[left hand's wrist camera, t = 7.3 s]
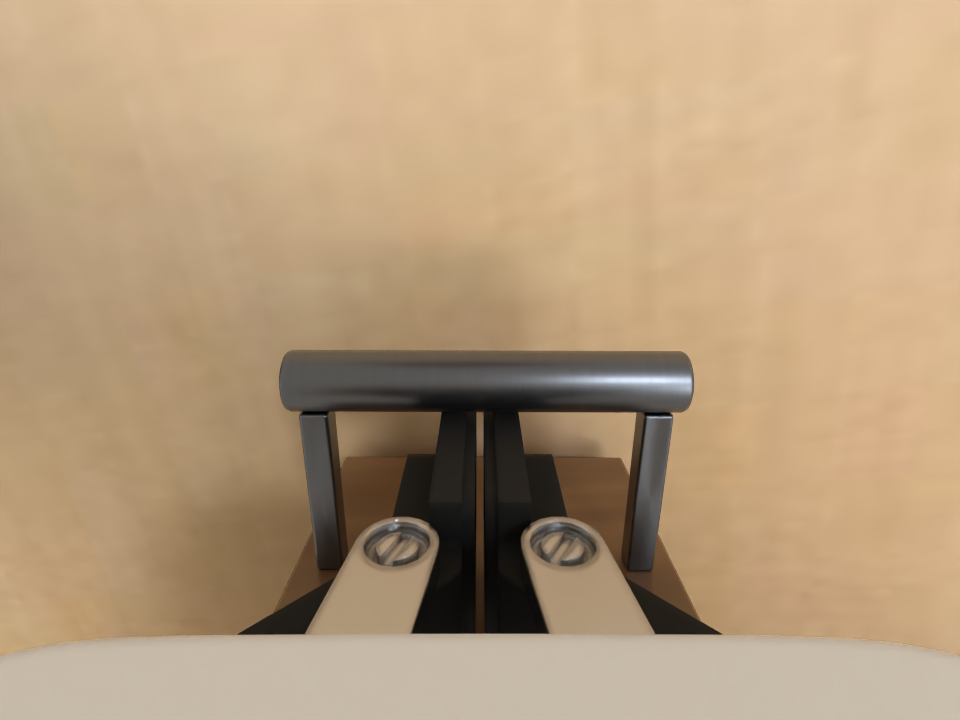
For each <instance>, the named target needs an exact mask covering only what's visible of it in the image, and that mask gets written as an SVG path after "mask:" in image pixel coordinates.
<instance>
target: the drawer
mask: <svg viewBox="0 0 960 720" xmlns="http://www.w3.org/2000/svg"><path fill="white" fill-rule="evenodd" d="M279 389H280V396H281V400H282V403H283V405H284V407H285V408H286V409H287V410H289V411H302V412H301V413H300V416H299V419H300V428H301V436H302V444H303V452H304V461H305V469H306V477H307V485H308V494H309V502H310V510H311V518H312V527H313V530H312V532H311V534H310V536H309V539H308V541H307V543H306V545H305V547H304V549H303V551H302V553H301V556H300V558H299V560H298V562H297V564H296V566H295V568H294V571H293V573H292V575H291V577H290V579H289V581H288V583H287V585H286V588H285V590H284V592H283V594H282V596H281V598H280V600H279V602H278V605H277V607H276V609H275V611H274V613H275V612H276V611H278V610H280V609H282V608H283V607H285V606H287V605H288V604H290V603H292V602H293V601H295V600H297V599H299V598H300V597H302V596H304V595H305V594H307V593H309V592H311V591H312V590H314V589H316V588H317V587H319V586H321V585H322V584H324V583H326V582H328V581H329V580H331V579H333V578H334V577H336V576H337V574H338V572H339V571H340V569H341V567H342V565H343V563H344V561H345V560H346V558H347V556H348V554H349V552H350V550H351V549H352V547H353V545H354V543H355V541H356V540H357V538H358V537H359V536H360V534H361V533H362V532H363V531H364V530H365V529H366V528H368V527H369V526H371V525H372V524H374V523H376V522H379V521H381V520H384V519H388V518H392V517H393V513H394V509H395V505H396V501H397V496H398V492H399V488H400V484H401V480H402V476H403V472H404V468H405V464H406V460H407V457H347V458H346V460H345V462H344V464H343V466H342V468H341V470H340V461H339V450H338V440H337V429H336V419H335V411H352V412H637V414H636V423H635V432H634V441H633V450H632V460H631V469H630V476H629V474H628V472H627V470H626V468H625V465H624V463H623V461H622V459H621V458H553V460H554V464H555V468H556V472H557V476H558V480H559V484H560V488H561V492H562V496H563V501H564V505H565V509H566V513H567V517H568V518H572V519H576V520H579V521H581V522H584V523H586V524H588V525H589V526H591V527H592V528H594V529H595V530H596V531H597V532H598V533H599V534H600V536H601V537H602V538H603V540H604V541H605V543H606V545H607V547H608V549H609V550H610V552H611V554H612V556H613V558H614V560H615V561H616V563H617V565H618V567H619V569H620V571H621V572H622V574H623V576H624V577H626V578H627V579H629V580H631V581H632V582H634V583H636V584H638V585H639V586H641V587H643V588H644V589H646V590H648V591H649V592H651V593H653V594H655V595H656V596H658V597H660V598H661V599H663V600H665V601H667V602H668V603H670V604H672V605H673V606H675V607H677V608H678V609H680V610H682V611H684V612H685V613H687V614H689V615H690V616H692V617H694V618H696V619H697V620H699V621H700V619H699V617H698V615H697V613H696V611H695V609H694V607H693V605H692V602H691V600H690V598H689V596H688V594H687V592H686V590H685V588H684V586H683V584H682V582H681V580H680V578H679V576H678V574H677V572H676V570H675V568H674V566H673V564H672V562H671V560H670V558H669V555H668V553H667V551H666V549H665V547H664V545H663V543H662V541H661V539H660V537H659V535H658V526H659V519H660V512H661V504H662V497H663V490H664V482H665V475H666V468H667V460H668V453H669V445H670V438H671V431H672V423H673V415H672V414H671V413H670V412H676V413H680V412H683V411H686V410H687V409H688V408H689V406H690V404H691V401H692V397H693V390H694V376H693V369H692V365H691V362H690V359H689V357H688V356H687V355H686V354H685V353H683V352H681V351H406V350H291V351H289V352H287V353H286V354H285V356H284V358H283V360H282V364H281V368H280V375H279ZM476 481H477V522H476V626H475V634H485V626H484V522H483V482H484V457H476Z"/></svg>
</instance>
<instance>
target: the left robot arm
mask: <svg viewBox="0 0 960 720" xmlns="http://www.w3.org/2000/svg"><path fill="white" fill-rule="evenodd" d="M476 522H477V481H476V412H442V415H441V422H440V429H439V435H438V442H437V449H436V454H409V455H408V456H407V460H406V464H405V468H404V472H403V476H402V480H401V484H400V488H399V492H398V496H397V501H396V505H395V509H394V513H393V517H392V518H388V519H384V520H381V521H379V522H376V523H374V524H372V525H371V526H369V527H368V528H366V529H365V530H364V531H363V532H362V533H361V534H360V536H359V537H358V538H357V540H356V541H355V543H354V545H353V547H352V549H351V550H350V552H349V554H348V556H347V558H346V560H345V561H344V563H343V565H342V567H341V569H340V571H339V572H338V574H337V576H336V577H334V578H333V579H331V580H329V581H328V582H326V583H324V584H322V585H321V586H319V587H317V588H316V589H314V590H312V591H311V592H309V593H307V594H305V595H304V596H302V597H300V598H299V599H297V600H295V601H293V602H292V603H290V604H288V605H287V606H285V607H283V608H282V609H280V610H278V611H276V612H275V613H273V614H271V615H270V616H268V617H266V618H264V619H263V620H261V621H259V622H258V623H256V624H254V625H253V626H251V627H249V628H247V629H246V630H244V631H242V632H241V633H239V634H237V635H172V636H145V637H118V638H99V639H90V640H81V641H72V642H62V643H56V644H51V645H46V646H40V647H35V648H30V649H24V650H19V651H15V652H11V653H8V654H4V655H1V656H0V720H960V656H959V655H956V654H952V653H949V652H945V651H941V650H936V649H930V648H925V647H920V646H914V645H909V644H904V643H898V642H888V641H879V640H870V639H861V638H842V637H815V636H788V635H723V634H721V633H719V632H718V631H716V630H714V629H713V628H711V627H709V626H707V625H706V624H704V623H702V622H701V621H699V620H697V619H696V618H694V617H692V616H690V615H689V614H687V613H685V612H684V611H682V610H680V609H678V608H677V607H675V606H673V605H672V604H670V603H668V602H667V601H665V600H663V599H661V598H660V597H658V596H656V595H655V594H653V593H651V592H649V591H648V590H646V589H644V588H643V587H641V586H639V585H638V584H636V583H634V582H632V581H631V580H629V579H627V578H626V577H624V576H623V574H622V572H621V571H620V569H619V567H618V565H617V563H616V561H615V560H614V558H613V556H612V554H611V552H610V550H609V549H608V547H607V545H606V543H605V541H604V540H603V538H602V537H601V536H600V534H599V533H598V532H597V531H596V530H595V529H594V528H592V527H591V526H589V525H588V524H586V523H584V522H581V521H579V520H576V519H572V518H568V517H567V513H566V509H565V505H564V501H563V496H562V492H561V488H560V484H559V480H558V476H557V472H556V468H555V464H554V460H553V456H552V455H551V454H524V449H523V442H522V435H521V429H520V422H519V415H518V412H484V482H483V522H484V626H485V634H475V626H476Z"/></svg>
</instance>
